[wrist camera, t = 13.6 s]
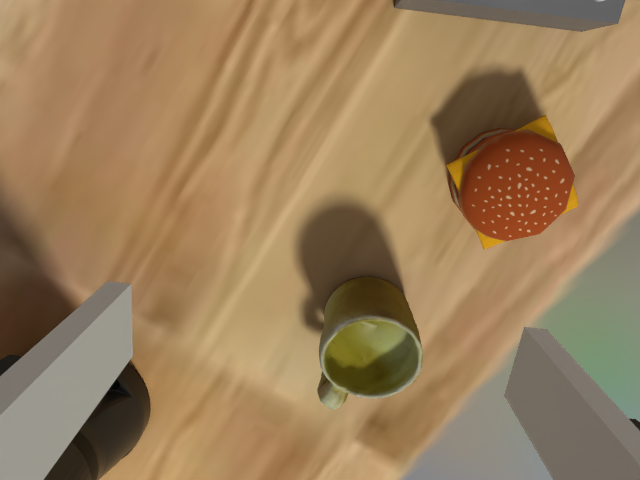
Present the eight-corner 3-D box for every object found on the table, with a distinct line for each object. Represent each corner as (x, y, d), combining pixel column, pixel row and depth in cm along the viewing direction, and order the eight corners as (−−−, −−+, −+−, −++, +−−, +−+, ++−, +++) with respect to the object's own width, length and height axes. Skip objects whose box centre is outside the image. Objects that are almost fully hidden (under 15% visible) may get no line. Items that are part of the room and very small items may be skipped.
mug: (363, 242, 42) (382, 324, 35) (427, 292, 47) (456, 374, 40) (276, 309, 47) (275, 394, 40) (342, 348, 52) (353, 430, 45)
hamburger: (523, 105, 40) (560, 108, 34) (561, 196, 43) (602, 215, 36) (427, 158, 42) (446, 170, 35) (469, 243, 44) (494, 269, 38)
